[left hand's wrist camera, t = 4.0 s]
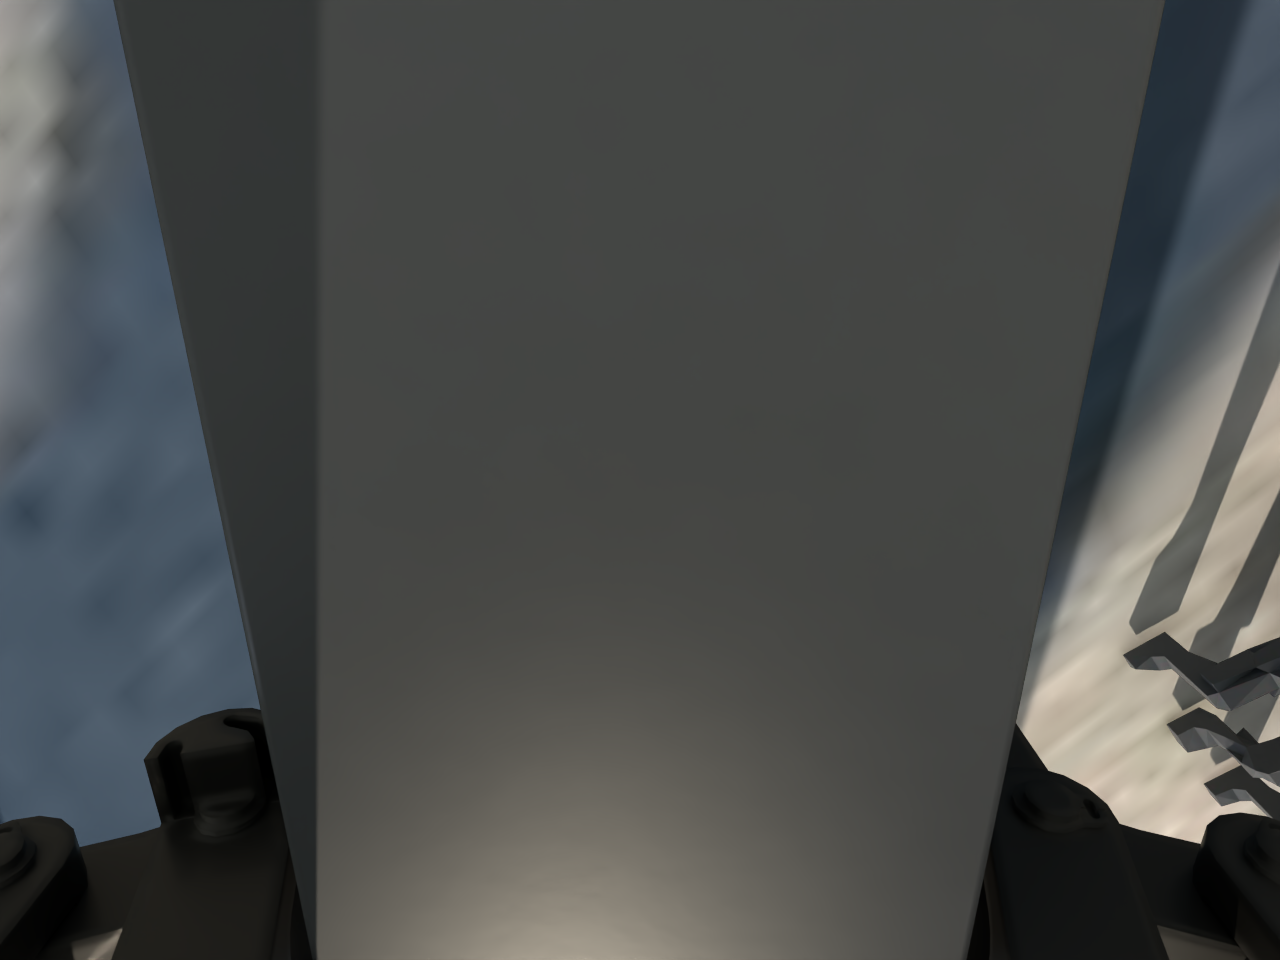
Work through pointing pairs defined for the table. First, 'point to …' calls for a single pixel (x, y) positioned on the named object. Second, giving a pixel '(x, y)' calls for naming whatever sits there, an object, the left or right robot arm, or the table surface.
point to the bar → (639, 442)
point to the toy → (1227, 688)
